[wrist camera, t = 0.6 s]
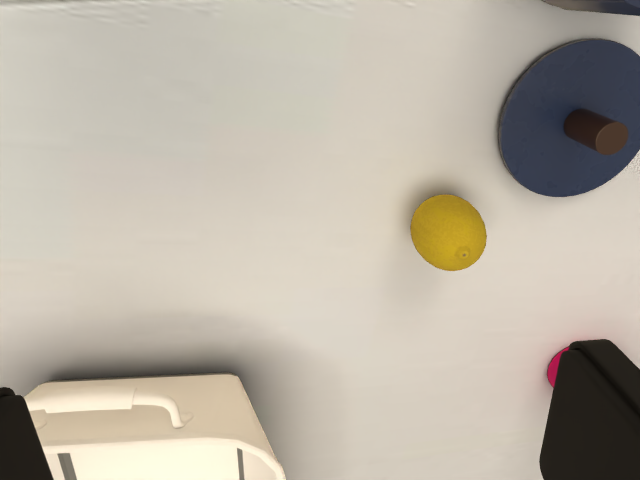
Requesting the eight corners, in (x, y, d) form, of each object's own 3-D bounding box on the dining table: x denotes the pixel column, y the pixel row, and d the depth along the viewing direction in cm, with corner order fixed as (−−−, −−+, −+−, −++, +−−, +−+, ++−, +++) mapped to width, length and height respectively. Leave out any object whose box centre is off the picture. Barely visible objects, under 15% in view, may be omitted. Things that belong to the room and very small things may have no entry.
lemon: (476, 195, 44) (517, 237, 36) (442, 249, 46) (474, 298, 38) (421, 170, 42) (452, 208, 35) (389, 226, 44) (412, 273, 37)
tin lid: (504, 43, 38) (539, 52, 33) (663, 33, 39) (721, 39, 34) (488, 198, 44) (516, 225, 39) (628, 186, 44) (673, 212, 39)
